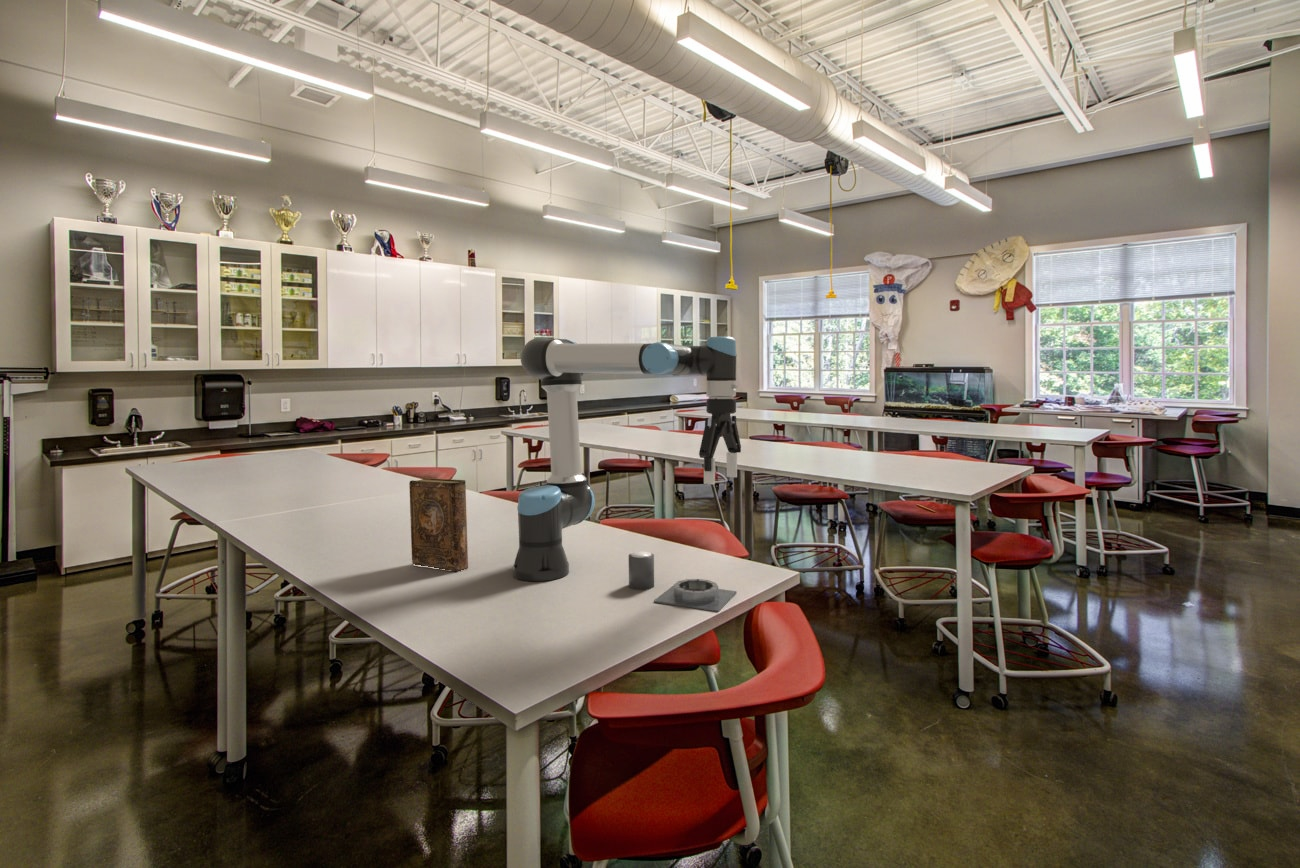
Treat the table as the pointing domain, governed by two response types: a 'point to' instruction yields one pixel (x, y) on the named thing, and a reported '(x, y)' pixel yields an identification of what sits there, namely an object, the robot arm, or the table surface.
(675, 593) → the barrel mount
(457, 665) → the table surface
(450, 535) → the book
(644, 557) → the lens barrel
